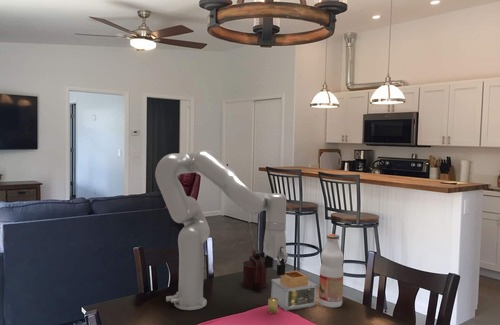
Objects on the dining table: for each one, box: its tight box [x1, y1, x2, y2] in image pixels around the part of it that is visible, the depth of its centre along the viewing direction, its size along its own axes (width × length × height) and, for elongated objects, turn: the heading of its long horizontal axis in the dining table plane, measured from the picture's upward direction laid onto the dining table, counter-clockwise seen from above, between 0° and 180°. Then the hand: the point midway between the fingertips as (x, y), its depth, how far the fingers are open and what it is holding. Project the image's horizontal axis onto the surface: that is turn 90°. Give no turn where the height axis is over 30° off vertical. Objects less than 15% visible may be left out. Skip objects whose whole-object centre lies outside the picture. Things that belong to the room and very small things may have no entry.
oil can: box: [242, 223, 268, 290], centre depth 184 cm, size 28×11×25 cm, turn 11°
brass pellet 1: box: [267, 296, 279, 314], centre depth 152 cm, size 4×4×5 cm
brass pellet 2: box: [288, 290, 298, 303], centre depth 162 cm, size 4×4×5 cm
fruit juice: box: [318, 233, 345, 309], centre depth 162 cm, size 9×9×28 cm
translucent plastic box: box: [270, 270, 318, 312], centre depth 161 cm, size 14×12×12 cm
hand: (274, 271), depth 151 cm, fingers open, 9 cm apart
